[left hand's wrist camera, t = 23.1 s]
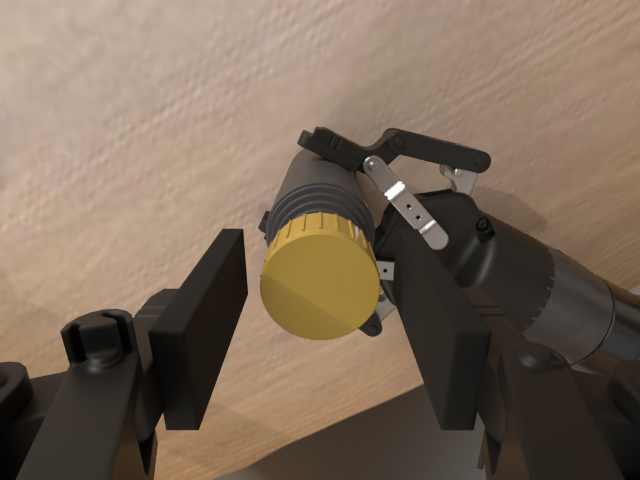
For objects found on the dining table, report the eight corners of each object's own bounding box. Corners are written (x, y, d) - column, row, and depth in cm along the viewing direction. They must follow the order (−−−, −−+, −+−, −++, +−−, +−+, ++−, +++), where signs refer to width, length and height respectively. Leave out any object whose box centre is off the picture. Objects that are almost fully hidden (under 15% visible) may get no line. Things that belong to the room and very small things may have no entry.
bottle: (343, 136, 28) (374, 192, 12) (359, 199, 30) (404, 321, 14) (279, 154, 29) (228, 232, 13) (298, 215, 30) (274, 351, 14)
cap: (375, 210, 14) (385, 231, 12) (370, 307, 15) (378, 341, 13) (264, 210, 14) (254, 231, 12) (270, 307, 15) (262, 342, 13)
